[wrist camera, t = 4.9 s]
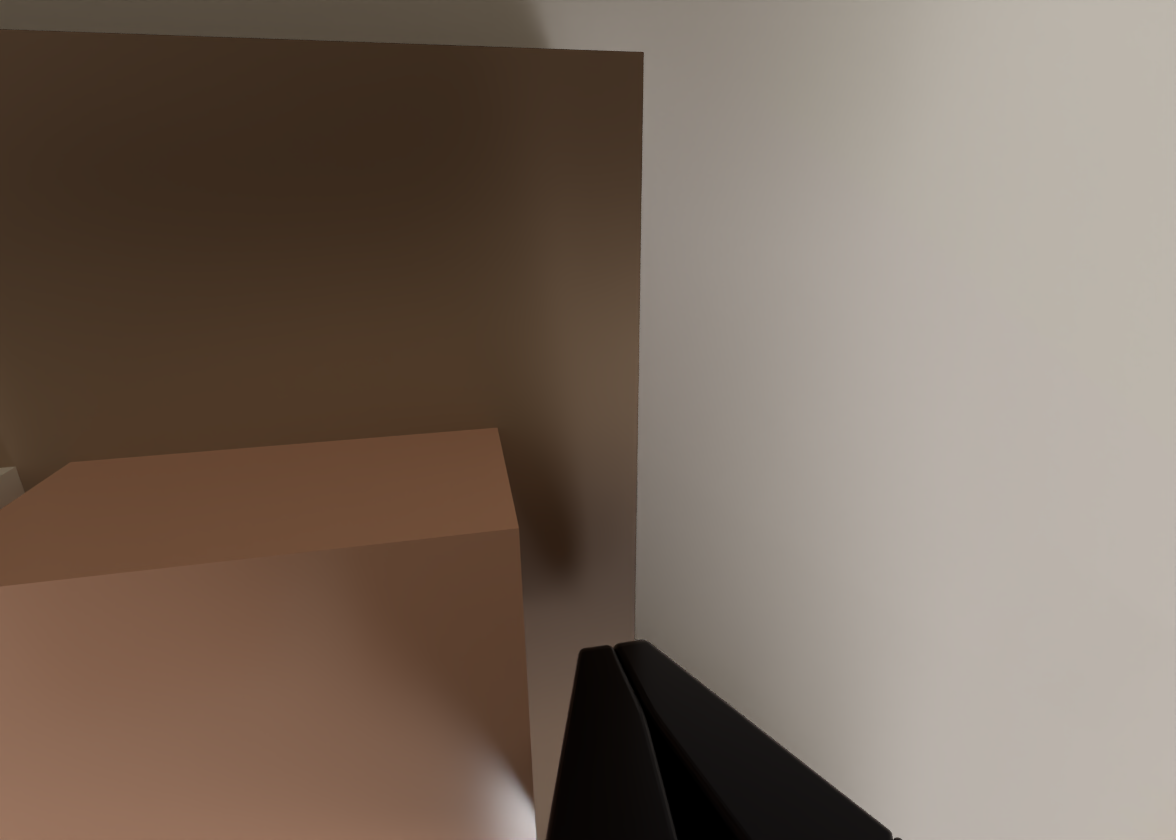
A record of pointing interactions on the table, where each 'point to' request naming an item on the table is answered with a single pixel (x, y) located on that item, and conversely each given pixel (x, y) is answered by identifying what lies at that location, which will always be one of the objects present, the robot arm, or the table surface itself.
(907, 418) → the table surface
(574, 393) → the brown flat block
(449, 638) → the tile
